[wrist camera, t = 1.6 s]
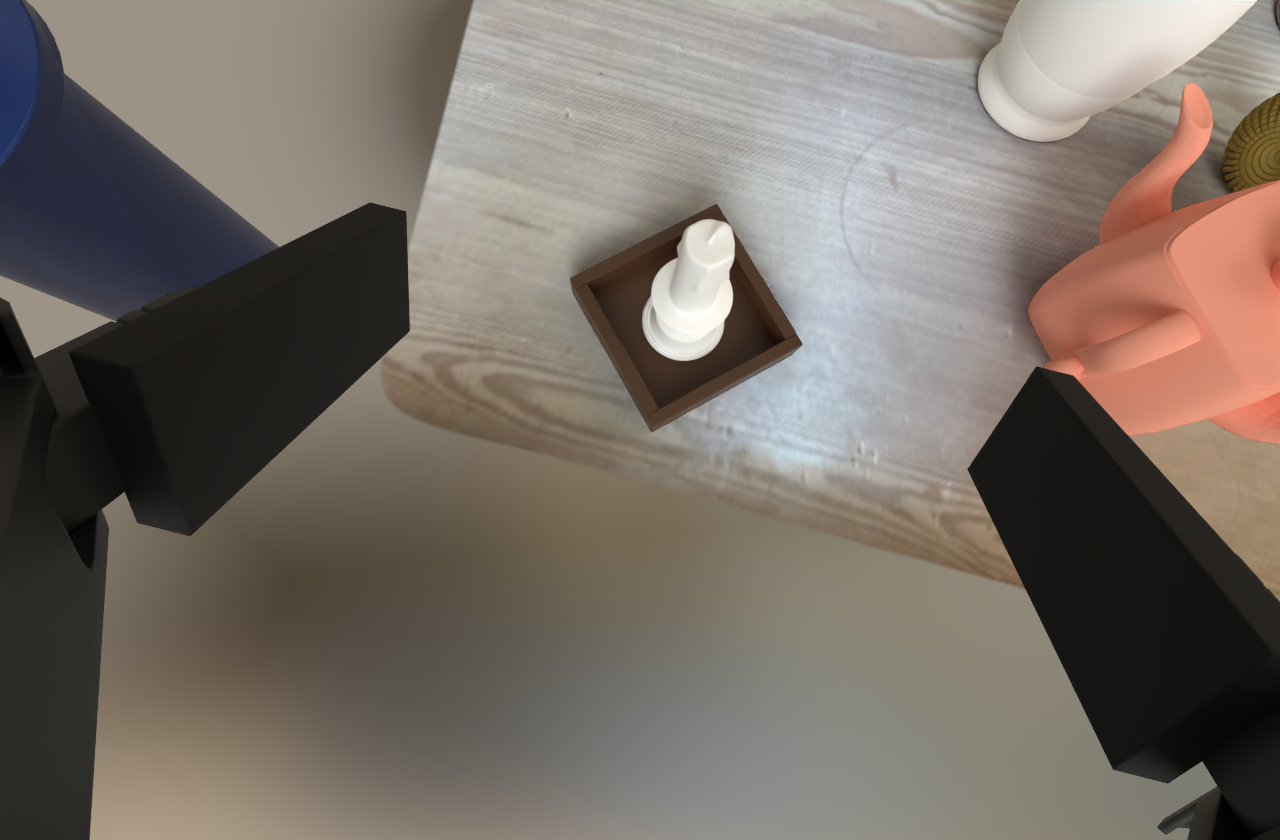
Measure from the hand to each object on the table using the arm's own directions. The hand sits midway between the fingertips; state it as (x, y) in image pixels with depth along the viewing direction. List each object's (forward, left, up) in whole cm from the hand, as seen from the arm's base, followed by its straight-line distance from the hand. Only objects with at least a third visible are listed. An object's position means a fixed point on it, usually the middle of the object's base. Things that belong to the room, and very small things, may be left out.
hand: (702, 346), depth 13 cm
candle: (-7, +7, -25) cm, 27 cm away
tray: (-7, +7, -26) cm, 27 cm away
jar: (-10, +38, -26) cm, 47 cm away
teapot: (+8, +32, -26) cm, 42 cm away
